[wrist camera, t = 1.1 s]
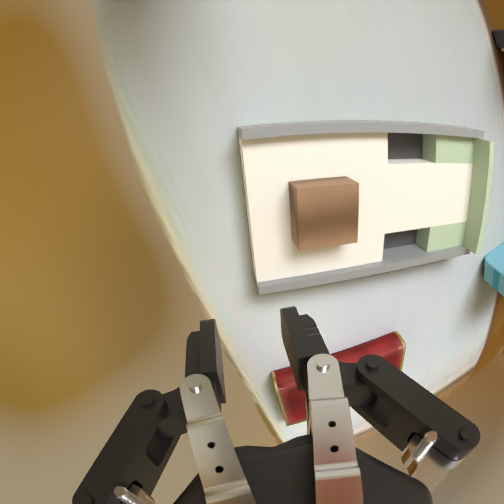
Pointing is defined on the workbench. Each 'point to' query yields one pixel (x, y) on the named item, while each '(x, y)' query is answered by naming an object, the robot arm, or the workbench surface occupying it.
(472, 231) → the box
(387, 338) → the hardcover book
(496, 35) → the grey white red block
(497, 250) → the data package
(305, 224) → the walnut block
